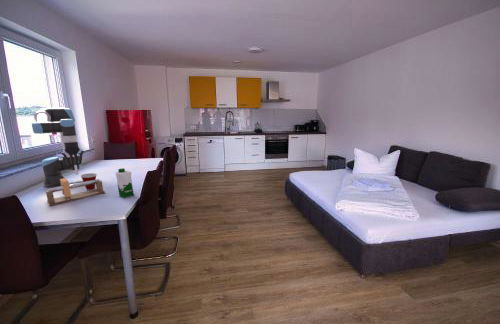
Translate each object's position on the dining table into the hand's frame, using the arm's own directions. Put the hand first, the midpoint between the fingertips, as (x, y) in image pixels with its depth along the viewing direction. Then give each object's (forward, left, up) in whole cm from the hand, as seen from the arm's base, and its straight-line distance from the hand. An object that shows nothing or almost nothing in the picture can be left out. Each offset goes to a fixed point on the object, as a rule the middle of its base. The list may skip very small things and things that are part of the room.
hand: (76, 174), depth 164 cm
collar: (0, -8, -14) cm, 16 cm away
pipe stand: (0, -2, -17) cm, 17 cm away
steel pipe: (0, -2, -10) cm, 10 cm away
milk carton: (+24, +23, -17) cm, 38 cm away
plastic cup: (-15, +10, -17) cm, 25 cm away
